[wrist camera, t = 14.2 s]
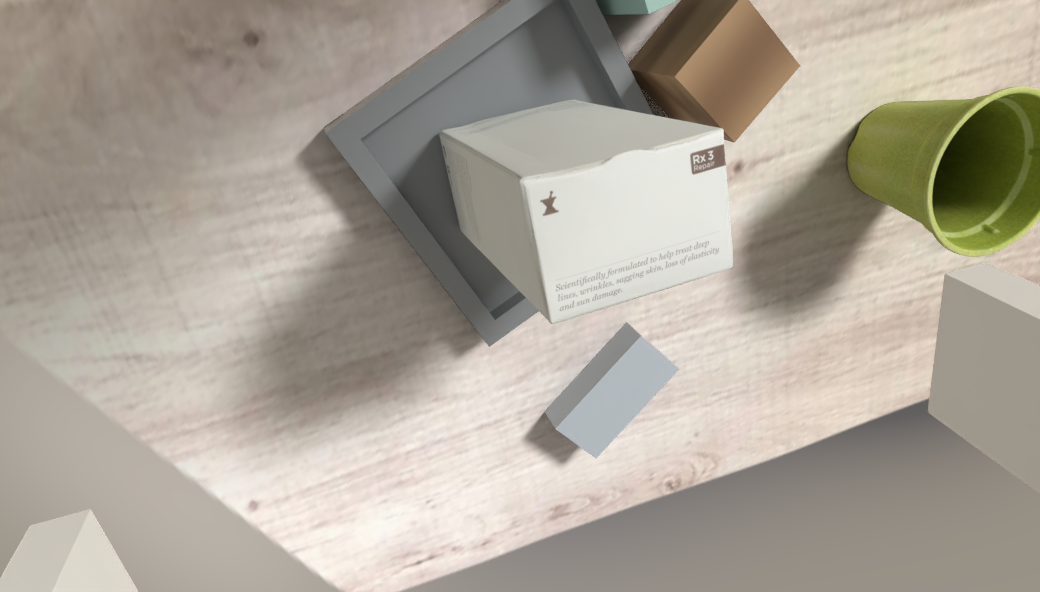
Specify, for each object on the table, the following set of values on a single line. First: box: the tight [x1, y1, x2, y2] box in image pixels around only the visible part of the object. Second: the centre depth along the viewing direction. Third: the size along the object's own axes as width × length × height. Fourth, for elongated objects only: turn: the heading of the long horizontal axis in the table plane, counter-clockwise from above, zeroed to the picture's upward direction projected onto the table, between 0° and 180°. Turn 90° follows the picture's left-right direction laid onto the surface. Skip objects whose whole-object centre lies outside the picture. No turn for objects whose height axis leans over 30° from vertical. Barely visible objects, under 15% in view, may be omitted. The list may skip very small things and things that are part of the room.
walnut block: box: [628, 0, 800, 142], centre depth 37 cm, size 5×5×6 cm
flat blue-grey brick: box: [545, 322, 679, 458], centre depth 46 cm, size 8×4×2 cm, turn 136°
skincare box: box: [439, 99, 733, 324], centre depth 32 cm, size 8×6×15 cm
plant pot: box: [847, 87, 1040, 257], centre depth 42 cm, size 9×9×9 cm
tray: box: [324, 0, 653, 347], centre depth 38 cm, size 15×15×2 cm
